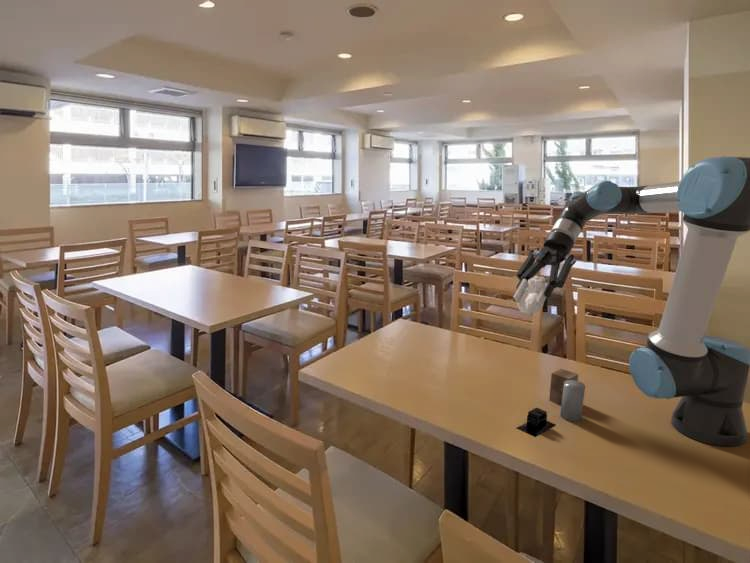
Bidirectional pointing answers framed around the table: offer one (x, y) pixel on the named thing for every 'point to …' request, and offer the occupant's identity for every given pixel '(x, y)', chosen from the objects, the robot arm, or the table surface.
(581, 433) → the table surface
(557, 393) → the walnut block
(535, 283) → the bust
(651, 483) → the table surface
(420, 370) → the table surface
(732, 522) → the table surface
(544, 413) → the notched block on base
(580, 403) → the grey rounded cylinder
